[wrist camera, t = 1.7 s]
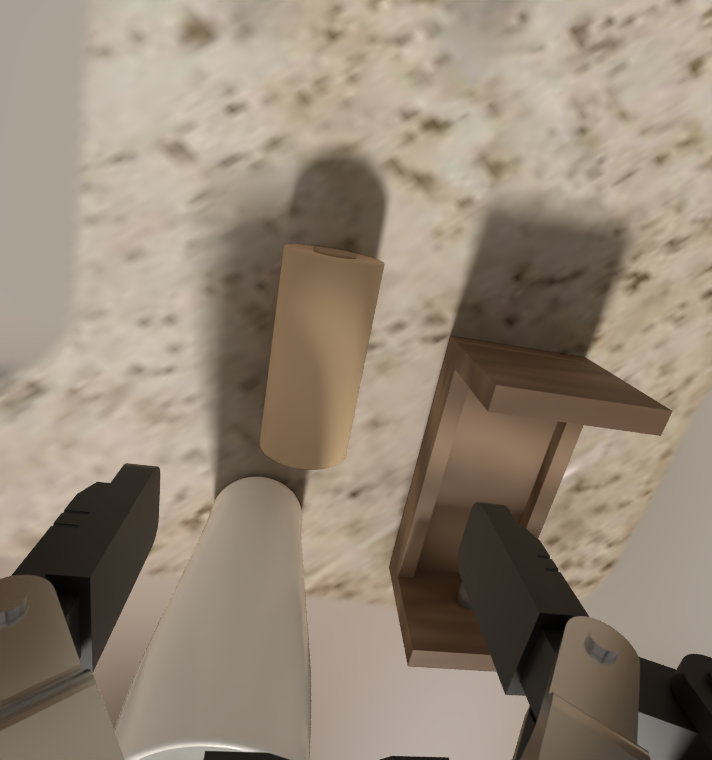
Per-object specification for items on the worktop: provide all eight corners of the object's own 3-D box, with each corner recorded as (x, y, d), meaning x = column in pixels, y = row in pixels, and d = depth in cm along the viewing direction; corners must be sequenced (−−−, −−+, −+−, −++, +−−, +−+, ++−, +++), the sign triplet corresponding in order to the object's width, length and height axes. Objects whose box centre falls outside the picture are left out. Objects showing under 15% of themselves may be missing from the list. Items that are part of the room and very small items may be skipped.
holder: (450, 335, 25) (496, 384, 19) (585, 357, 26) (672, 410, 20) (389, 567, 31) (407, 666, 25) (502, 577, 32) (548, 674, 26)
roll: (287, 237, 23) (280, 247, 19) (378, 253, 24) (391, 267, 19) (264, 422, 27) (254, 466, 22) (343, 432, 27) (348, 477, 23)
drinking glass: (177, 508, 28) (39, 816, 14) (258, 440, 27) (193, 706, 13) (258, 569, 30) (208, 889, 16) (336, 510, 29) (353, 801, 15)
